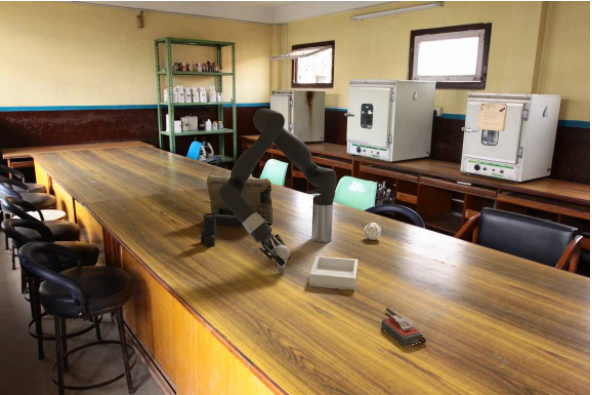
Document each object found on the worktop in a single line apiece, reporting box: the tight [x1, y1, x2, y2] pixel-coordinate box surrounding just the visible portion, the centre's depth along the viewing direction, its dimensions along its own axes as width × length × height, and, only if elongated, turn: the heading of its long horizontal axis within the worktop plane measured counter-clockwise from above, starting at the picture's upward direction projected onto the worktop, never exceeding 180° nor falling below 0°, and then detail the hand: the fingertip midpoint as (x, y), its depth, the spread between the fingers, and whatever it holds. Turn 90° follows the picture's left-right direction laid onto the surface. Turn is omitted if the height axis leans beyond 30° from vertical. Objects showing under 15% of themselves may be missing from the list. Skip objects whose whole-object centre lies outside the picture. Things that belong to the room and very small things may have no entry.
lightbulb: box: [276, 244, 291, 274], centre depth 169 cm, size 6×6×11 cm
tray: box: [308, 255, 359, 291], centre depth 166 cm, size 18×16×4 cm
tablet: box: [206, 174, 274, 228], centre depth 227 cm, size 33×14×25 cm, turn 85°
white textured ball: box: [363, 222, 382, 241], centre depth 210 cm, size 8×8×8 cm
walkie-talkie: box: [381, 307, 427, 347], centre depth 132 cm, size 9×4×20 cm
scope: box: [197, 212, 218, 248], centre depth 197 cm, size 8×14×10 cm
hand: (286, 261), depth 169 cm, fingers closed on lightbulb, 5 cm apart
